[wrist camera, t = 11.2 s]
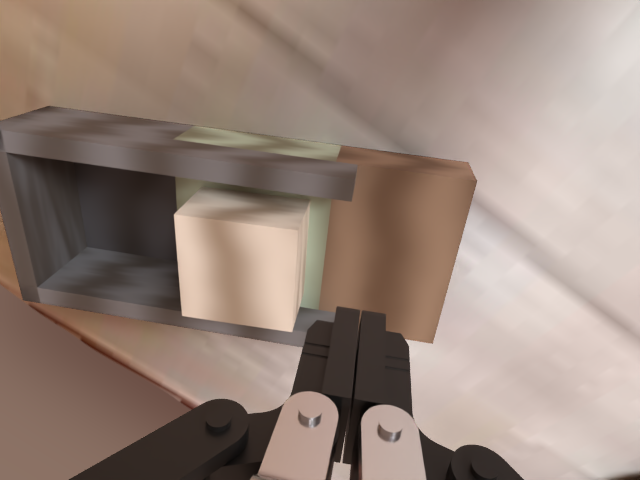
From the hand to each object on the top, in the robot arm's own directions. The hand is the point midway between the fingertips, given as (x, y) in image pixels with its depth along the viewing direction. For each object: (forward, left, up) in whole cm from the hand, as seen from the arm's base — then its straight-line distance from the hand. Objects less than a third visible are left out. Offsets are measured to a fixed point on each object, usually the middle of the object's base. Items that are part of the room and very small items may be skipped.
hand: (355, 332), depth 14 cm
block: (+8, +8, -19) cm, 22 cm away
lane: (+10, +8, -23) cm, 26 cm away
